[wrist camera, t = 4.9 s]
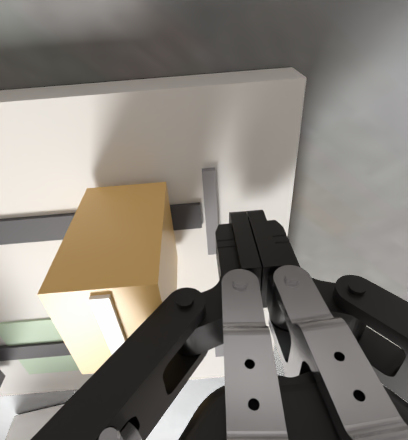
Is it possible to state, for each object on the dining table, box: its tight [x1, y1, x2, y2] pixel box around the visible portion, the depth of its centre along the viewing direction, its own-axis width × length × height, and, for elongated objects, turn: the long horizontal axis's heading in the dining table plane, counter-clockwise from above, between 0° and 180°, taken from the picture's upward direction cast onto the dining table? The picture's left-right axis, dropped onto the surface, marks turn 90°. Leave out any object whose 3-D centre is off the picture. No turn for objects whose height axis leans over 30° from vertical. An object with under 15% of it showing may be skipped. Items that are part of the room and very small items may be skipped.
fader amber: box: [37, 182, 178, 374], centre depth 13 cm, size 4×4×6 cm
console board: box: [0, 67, 307, 396], centre depth 19 cm, size 28×22×2 cm
